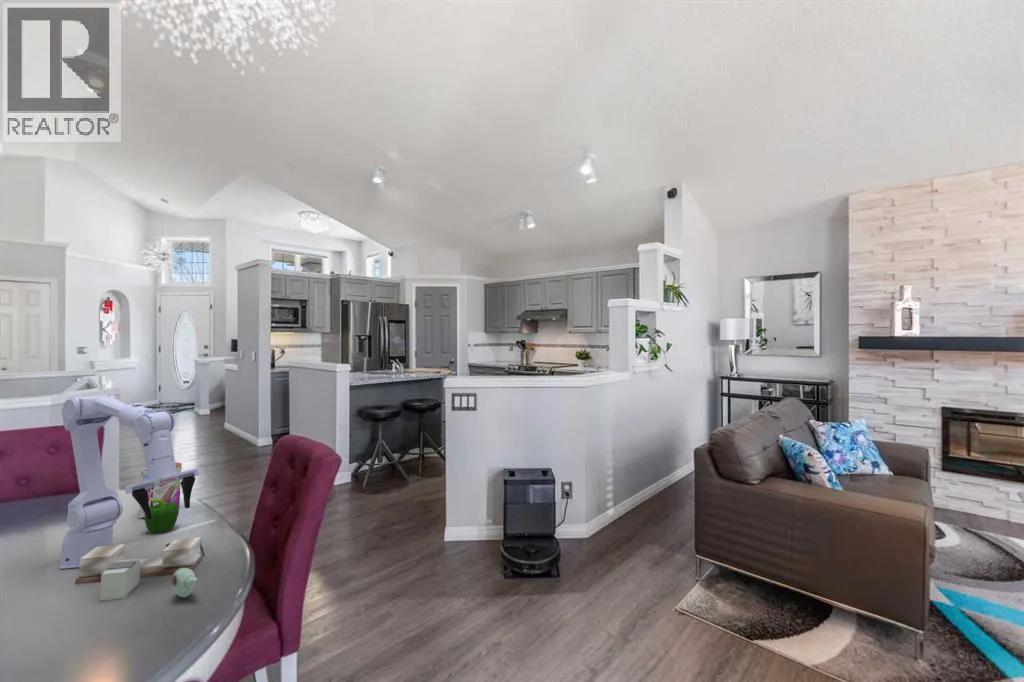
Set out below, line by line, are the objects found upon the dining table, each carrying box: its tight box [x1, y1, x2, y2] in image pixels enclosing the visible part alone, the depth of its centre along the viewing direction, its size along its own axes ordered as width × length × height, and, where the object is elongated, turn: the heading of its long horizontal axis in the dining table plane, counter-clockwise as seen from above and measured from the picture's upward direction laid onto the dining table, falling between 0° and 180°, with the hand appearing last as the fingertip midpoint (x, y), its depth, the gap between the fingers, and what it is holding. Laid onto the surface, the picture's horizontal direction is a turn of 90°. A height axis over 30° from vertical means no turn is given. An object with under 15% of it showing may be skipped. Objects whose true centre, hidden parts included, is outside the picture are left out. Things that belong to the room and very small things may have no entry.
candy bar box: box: [138, 462, 183, 519], centre depth 155 cm, size 11×5×16 cm, turn 172°
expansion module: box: [99, 557, 141, 601], centre depth 105 cm, size 4×7×6 cm, turn 17°
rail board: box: [74, 537, 204, 585], centre depth 116 cm, size 24×8×6 cm, turn 107°
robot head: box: [171, 568, 199, 598], centre depth 103 cm, size 8×4×7 cm, turn 57°
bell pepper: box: [144, 499, 180, 534], centre depth 141 cm, size 8×8×10 cm
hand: (168, 513), depth 112 cm, fingers open, 7 cm apart
